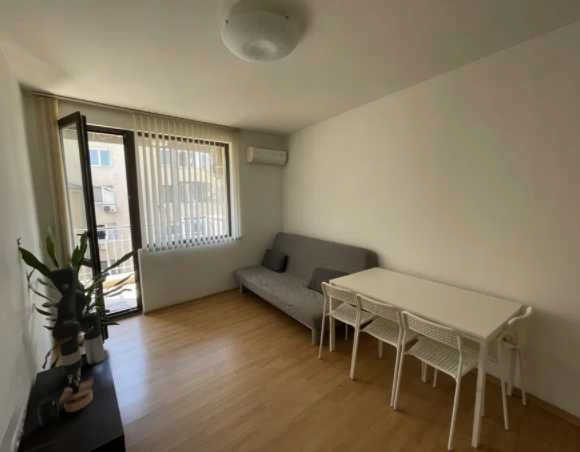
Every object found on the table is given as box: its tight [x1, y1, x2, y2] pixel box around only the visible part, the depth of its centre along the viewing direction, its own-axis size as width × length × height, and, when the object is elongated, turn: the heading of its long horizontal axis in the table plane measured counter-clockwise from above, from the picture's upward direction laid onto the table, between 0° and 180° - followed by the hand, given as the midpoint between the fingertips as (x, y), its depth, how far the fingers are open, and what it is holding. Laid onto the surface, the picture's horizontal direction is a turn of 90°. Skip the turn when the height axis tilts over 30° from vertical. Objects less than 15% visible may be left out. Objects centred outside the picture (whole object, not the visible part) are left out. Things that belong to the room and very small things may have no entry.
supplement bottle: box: [37, 396, 60, 428], centre depth 121 cm, size 7×7×12 cm
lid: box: [57, 378, 94, 406], centre depth 130 cm, size 12×12×6 cm
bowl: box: [63, 388, 94, 413], centre depth 131 cm, size 11×11×5 cm
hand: (77, 390), depth 130 cm, fingers closed on lid, 2 cm apart
